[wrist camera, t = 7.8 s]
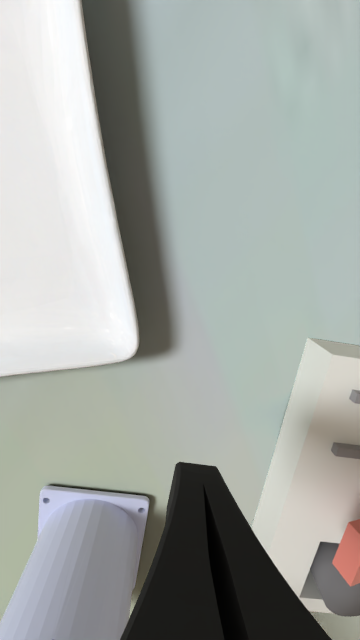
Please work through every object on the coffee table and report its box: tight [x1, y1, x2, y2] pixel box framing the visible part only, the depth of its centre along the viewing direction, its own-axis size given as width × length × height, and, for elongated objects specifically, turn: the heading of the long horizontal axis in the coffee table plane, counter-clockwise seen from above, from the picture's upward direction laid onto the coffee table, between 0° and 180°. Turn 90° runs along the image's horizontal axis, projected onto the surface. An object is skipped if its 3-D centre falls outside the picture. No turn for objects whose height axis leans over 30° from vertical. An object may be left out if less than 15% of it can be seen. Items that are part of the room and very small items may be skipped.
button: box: [310, 541, 360, 616], centre depth 21 cm, size 4×4×3 cm
